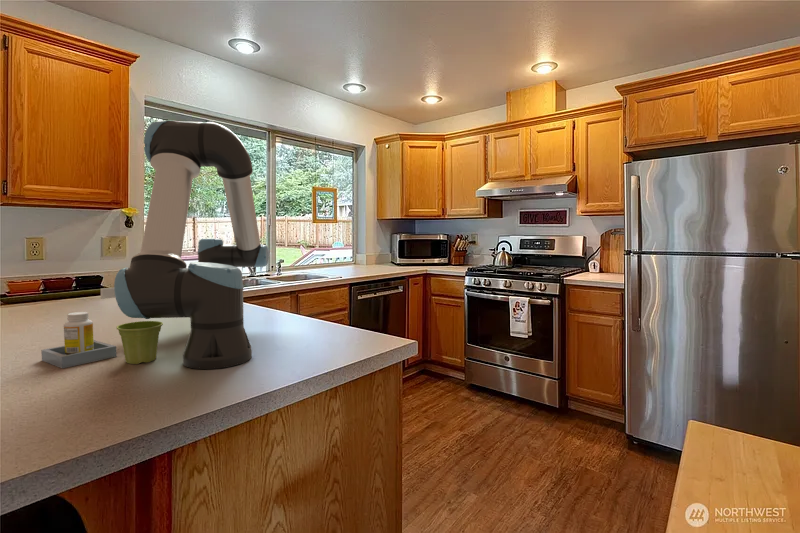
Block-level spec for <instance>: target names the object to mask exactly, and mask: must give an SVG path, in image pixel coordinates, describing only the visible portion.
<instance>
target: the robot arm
mask: <svg viewBox="0 0 800 533" xmlns="http://www.w3.org/2000/svg"><path fill="white" fill-rule="evenodd" d="M143 144H144V148H143V151H144V154H145V156H146V159H147V160H148V162H149V163H150V165H151V167H152V169H154V170H155V174H154V179H153V184H152V191H151V194H150V201H149V206H148V210H147V216H146V223H145V227H144V230H143V231H144V232H143V237H142V243H141V248H140V252H139V253H137V254H135V255H133V256H132V257H131V259H130V265H129V267H124V268H121V269H119V270H118V272H117V273H116V275H115V277H114V284H113V287H108V288H107V287H106V288H105V287H104V288H100V299H102V300H104V299H113V298H115V301H116V303H117V307H118V308H119V310H120V312H122V313H123V314H124V315H125V316H127V317H128V318H131V319H145V320H150V319H166V318H168V319H170V318H172V319H173V318H174V319H175V318H176V319H177V318H181V319H182V318H183V319H185V318H188V319H189V321H190V331H189V335H188V338H187V341H186V344H185V348H184V351H183V353H182V362H183V363H182V365H183V366H184V367H187V368H190V369H196V370H214V369H224V368H228V367H234V366H237V365H241V364H244V363H246V362H248V361H250V360H252V357H253V356H252V354H253V350H252V346H251V343H250V340H249V338H248V335H247V332H246V330H245V325H244V324H245V322H244V321H245V320H244V288H245V287H244V283H243V272H242V271H241V269H240V268H263V267H267V265H268V263H269V261H270V260H269V258H270V252H269V248H268V246H267V245H266V244H262V243H261V239H260V233H259V232H260V231H259V227H258V226H259V225H258V220H257V214H256V207H255V201H254V200H255V199H254V195H253V194H254V193H253V188H252V180H251V176H252V174H253V162H252V160H251V159H252V158H251V157H250V154H249V152H248V150H247V147H245V145H244V143H243V142H242V141H241V140H240V138H239V137H238V136H237V134H235V133H234V132H233V131H232V130H230V129H229V128H228V127H226V126H224V125H222V124H219V123H217V122H210V121H209V122H208V121H207V122H205V121H204V122H202V121H181V120H180V121H179V120H178V121H177V120H173V119H166V120H157V121H153V122H151V123H150V124H149V125H148V126H147V128H146V131H145V133H144V138H143ZM201 167H202V168H203V167H204V168H205V167H211V168H212V167H213V168H215V169H216V173H217V175H218V177H219V178H221V179H222V183H223V188H224V193H225V197H226V201H227V208H228V213H229V216H230V217H229V218H230V223H231V227H232V232H233V237H234V241H235V244H228V243H227V244H226V243H224V241H223V239H221V238H200V239H199V240H198V246H197V249H198V250H197V261H192V262H189V264H187V263H186V262H185V261H184V260H183V259H182V253H183V246H184V238H185V233H186V226H187V220H188V214H189V213H188V212H189V205H190V198H191V191H192V185H193V180H194V179H196V178H197V177H199V175H200V174H201ZM187 265H188V266H187Z"/></svg>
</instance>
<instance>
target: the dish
mask: <svg viewBox="0 0 800 533" xmlns="http://www.w3.org/2000/svg"><path fill="white" fill-rule="evenodd" d="M93 340H94V350H89V351H84V352H79V353H74V354H69V355H65V345H61V346H56V347H50V348H44V349H41V361H42V362H45V363H47V364H49V365H53V366H54V367H57V368H60V369H65V368H71V367H76V366H79V365H84V364H88V363H93V362H97V361H102V360H108V359H111V358H116V357H117V346H116V345H114V344H109V343H106V342H103V341H98V340H95V339H93Z"/></svg>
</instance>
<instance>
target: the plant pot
mask: <svg viewBox="0 0 800 533" xmlns="http://www.w3.org/2000/svg"><path fill="white" fill-rule="evenodd" d="M162 326H164V323H163V321H158V320H141V321H131V322H126V323H122V324H119V325H117V326H116V330H118V335H120V338H121V342H122V349H123V355H124V358H125V362H126V363H127V364H131V365H132V364H133V365H138V364H140V363H150V362H153V361H154V360H156V359H157V353H158V352H157V350H158V344H159V337H160V332H161V329H162Z"/></svg>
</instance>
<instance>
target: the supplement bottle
mask: <svg viewBox="0 0 800 533" xmlns="http://www.w3.org/2000/svg"><path fill="white" fill-rule="evenodd" d="M63 338H64V341H63V342H64V346H65V355H69V354H74V353H79V352H84V351H89V350H94V340H95V339H94V323H93V320H91V319H89V312H87V311H76V312H71V313H70V312H69V313H68V314H67V321H66V322H64V323H63Z"/></svg>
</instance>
